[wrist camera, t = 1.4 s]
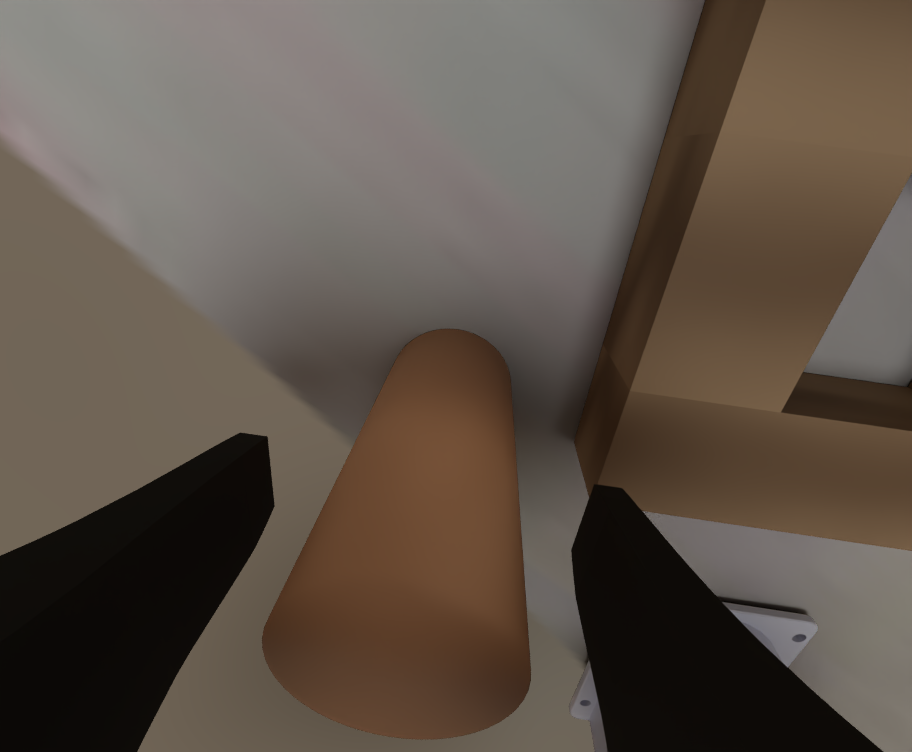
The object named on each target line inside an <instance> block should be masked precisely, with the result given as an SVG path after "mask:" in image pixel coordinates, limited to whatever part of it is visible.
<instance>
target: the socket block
mask: <svg viewBox="0 0 912 752" xmlns="http://www.w3.org/2000/svg"><path fill="white" fill-rule="evenodd" d="M911 173H912V0H706V1H705V4H704V7H703V11H702V14H701V18H700V21H699V24H698V28H697V31H696V34H695V38H694V41H693V44H692V48H691V51H690V54H689V58H688V61H687V64H686V68H685V71H684V75H683V78H682V81H681V85H680V88H679V91H678V95H677V98H676V101H675V105H674V108H673V111H672V115H671V118H670V121H669V125H668V128H667V131H666V135H665V138H664V142H663V145H662V148H661V152H660V155H659V158H658V162H657V165H656V168H655V172H654V175H653V178H652V182H651V185H650V188H649V192H648V195H647V198H646V202H645V205H644V209H643V212H642V215H641V219H640V222H639V225H638V229H637V232H636V235H635V239H634V242H633V245H632V249H631V252H630V255H629V259H628V262H627V266H626V269H625V272H624V276H623V279H622V282H621V286H620V289H619V292H618V296H617V299H616V302H615V306H614V309H613V312H612V316H611V319H610V322H609V326H608V329H607V333H606V336H605V339H604V343H603V346H602V349H601V353H600V356H599V359H598V363H597V366H596V369H595V373H594V376H593V379H592V383H591V386H590V389H589V393H588V396H587V400H586V403H585V406H584V410H583V413H582V416H581V420H580V423H579V426H578V430H577V433H576V436H575V440H574V444H575V448H576V451H577V455H578V458H579V462H580V466H581V469H582V473H583V477H584V480H585V484H586V487H587V491H588V495H589V497H590V495H591V492H592V489H593V486H594V484H598V485H605V486H612V487H619V488H623V489H624V491H625V492H626V493H627V494H628V495H629V496H630V497H631V499H632V500H633V501H634V502H635V503H636V504H637V506H638V507H639V508H640V509H641V510H642V511H647V512H653V513H660V514H667V515H674V516H680V517H687V518H694V519H701V520H707V521H714V522H721V523H727V524H734V525H741V526H748V527H754V528H761V529H768V530H775V531H781V532H788V533H795V534H802V535H808V536H815V537H822V538H828V539H835V540H842V541H849V542H855V543H862V544H869V545H876V546H882V547H889V548H896V549H903V550H909V551H912V382H911V383H910V385H909V386H908V387H902V386H895V385H888V384H881V383H874V382H867V381H860V380H852V379H845V378H838V377H831V376H824V375H817V374H810V373H803V371H804V369H805V367H806V365H807V364H808V362H809V360H810V358H811V356H812V354H813V353H814V351H815V349H816V347H817V345H818V343H819V342H820V340H821V338H822V336H823V334H824V332H825V331H826V329H827V327H828V325H829V323H830V321H831V320H832V318H833V316H834V314H835V312H836V310H837V309H838V307H839V305H840V303H841V301H842V299H843V298H844V296H845V294H846V292H847V290H848V288H849V287H850V285H851V283H852V281H853V279H854V278H855V276H856V274H857V272H858V270H859V268H860V267H861V265H862V263H863V261H864V259H865V257H866V256H867V254H868V252H869V250H870V248H871V246H872V245H873V243H874V241H875V239H876V237H877V235H878V234H879V232H880V230H881V228H882V226H883V224H884V223H885V221H886V219H887V217H888V215H889V213H890V212H891V210H892V208H893V206H894V204H895V202H896V201H897V199H898V197H899V195H900V193H901V192H902V190H903V188H904V186H905V184H906V182H907V181H908V179H909V177H910V175H911Z"/></svg>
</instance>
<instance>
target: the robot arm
mask: <svg viewBox="0 0 912 752" xmlns="http://www.w3.org/2000/svg"><path fill="white" fill-rule="evenodd" d="M273 508H274V497H273V487H272V477H271V467H270V457H269V448H268V437H267V436H260V435H253V434H246V433H239V434H237V435H235V436H233V437H231V438H229V439H227V440H225V441H223V442H222V443H220V444H218V445H216V446H214V447H213V448H211V449H209V450H207V451H205V452H204V453H202V454H200V455H198V456H197V457H195V458H193V459H191V460H190V461H188V462H186V463H184V464H183V465H181V466H179V467H177V468H176V469H174V470H172V471H170V472H168V473H167V474H165V475H163V476H161V477H159V478H157V479H156V480H154V481H152V482H151V483H149V484H147V485H145V486H143V487H142V488H140V489H138V490H136V491H134V492H132V493H130V494H128V495H126V496H124V497H122V498H120V499H118V500H116V501H114V502H113V503H110V504H109V505H107V506H105V507H103V508H101V509H99V510H97V511H95V512H93V513H91V514H89V515H87V516H85V517H84V518H82V519H80V520H78V521H76V522H73V523H71V524H69V525H67V526H65V527H63V528H61V529H59V530H57V531H55V532H52V533H51V534H48V535H46V536H44V537H42V538H40V539H37V540H35V541H33V542H31V543H29V544H26V545H24V546H22V547H19V548H17V549H15V550H13V551H10V552H8V553H6V554H4V555H1V556H0V752H137V751H138V749H139V747H140V745H141V743H142V741H143V739H144V737H145V735H146V733H147V731H148V729H149V727H150V725H151V723H152V721H153V719H154V717H155V715H156V713H157V712H158V710H159V708H160V706H161V704H162V702H163V700H164V698H165V696H166V694H167V692H168V690H169V688H170V686H171V685H172V683H173V681H174V679H175V677H176V675H177V673H178V672H179V670H180V668H181V667H182V665H183V663H184V661H185V660H186V658H187V656H188V655H189V653H190V651H191V650H192V648H193V646H194V645H195V643H196V642H197V640H198V639H199V637H200V635H201V634H202V632H203V630H204V629H205V627H206V626H207V624H208V623H209V621H210V619H211V618H212V616H213V615H214V613H215V611H216V610H217V608H218V607H219V605H220V604H221V602H222V600H223V599H224V597H225V596H226V594H227V593H228V591H229V589H230V588H231V586H232V585H233V583H234V581H235V580H236V578H237V577H238V575H239V573H240V572H241V570H242V568H243V567H244V565H245V564H246V562H247V561H248V559H249V557H250V556H251V554H252V552H253V551H254V549H255V547H256V545H257V543H258V541H259V539H260V537H261V535H262V533H263V531H264V528H265V526H266V524H267V522H268V519H269V517H270V515H271V513H272V511H273ZM571 552H572V564H573V576H574V585H575V594H576V600H577V605H578V610H579V615H580V620H581V625H582V629H583V634H584V639H585V643H586V648H587V652H588V657H589V661H588V663H587V666H586V668H585V670H584V672H583V675H582V677H581V679H580V681H579V684H578V686H577V688H576V691H575V693H574V695H573V697H572V699H571V702H570V704H569V710H570V714H571V715H572V716H573V717H574V718H577V719H584V720H590V726H591V732H592V738H593V744H594V749H595V752H883V751H882V750H881V749H879V748H878V747H877V746H876V745H875V744H874V743H872V742H871V741H870V740H869V739H868V738H866V737H865V736H864V735H863V734H862V733H861V732H859V731H858V730H857V729H856V728H855V727H854V726H852V725H851V724H850V723H849V722H848V721H846V720H845V719H844V718H843V717H842V716H841V715H839V714H838V713H837V712H836V711H835V710H834V709H833V708H832V707H830V706H829V705H828V704H827V703H826V702H825V701H824V700H823V699H821V698H820V697H819V696H818V695H817V694H816V693H815V692H814V691H812V690H811V689H810V688H809V687H808V686H807V685H806V684H805V683H804V682H803V681H802V680H801V679H800V678H798V677H797V676H796V675H795V674H794V673H793V672H792V671H791V670H790V669H789V668H788V667H789V665H790V664H791V663H792V662H793V660H794V659H795V658H796V657H797V656H798V654H799V653H800V652H801V651H802V649H803V648H804V647H805V646H806V644H807V643H808V642H809V641H810V640H811V638H812V637H813V636H814V635H815V633H816V632H817V630H818V626H817V624H816V623H815V621H814V620H813V618H812V617H810V616H808V615H805V614H798V613H792V612H785V611H778V610H772V609H765V608H759V607H752V606H746V605H739V604H732V603H726V602H721V601H720V600H719V599H718V597H717V596H716V595H715V594H714V593H713V592H712V591H711V590H710V589H709V588H708V587H707V586H706V584H705V583H704V582H703V581H702V580H701V579H700V578H699V577H698V576H697V575H696V573H695V572H694V571H693V570H692V569H691V568H690V567H689V566H688V564H687V563H686V562H685V561H684V560H683V559H682V558H681V556H680V555H679V554H678V553H677V552H676V551H675V550H674V548H673V547H672V546H671V545H670V544H669V543H668V541H667V540H666V539H665V538H664V537H663V535H662V534H661V533H660V532H659V531H658V529H657V528H656V527H655V526H654V525H653V524H652V522H651V521H650V520H649V519H648V518H647V516H646V515H645V514H644V513H643V512H642V510H641V509H640V508H639V507H638V506H637V504H636V503H635V502H634V501H633V500H632V499H631V497H630V496H629V495H628V494H627V493H626V492H625V491H624V489H623V488H619V487H612V486H605V485H598V484H594V486H593V489H592V492H591V495H590V497H589V500H588V503H587V506H586V509H585V512H584V515H583V518H582V521H581V523H580V526H579V529H578V532H577V535H576V538H575V541H574V544H573V547H572V550H571Z"/></svg>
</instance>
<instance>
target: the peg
mask: <svg viewBox="0 0 912 752" xmlns="http://www.w3.org/2000/svg"><path fill="white" fill-rule="evenodd" d="M262 644H263V646H262V648H263V652H264V656H265V660H266V662H267V664H268V666H269V668H270V670H271V672H272V673H273V675H274V676H275V678H276V679H277V680H278V681H279V683H280V684H281V685H282V686H283V687H284V688H285V689H286V690H287V691H288V692H289V693H290V694H291V695H292V696H293V697H295V698H296V699H297V700H299V701H300V702H301V703H303V704H304V705H306V706H307V707H309V708H310V709H312V710H314V711H315V712H317V713H319V714H321V715H323V716H325V717H327V718H329V719H331V720H333V721H336V722H338V723H341V724H343V725H346V726H349V727H352V728H354V729H358V730H361V731H365V732H369V733H372V734H377V735H382V736H388V737H396V738H403V739H443V738H451V737H458V736H463V735H467V734H471V733H475V732H478V731H480V730H484V729H486V728H489V727H490V726H493V725H495V724H497V723H499V722H500V721H502V720H503V719H505V718H506V717H508V716H509V715H510V714H512V712H514V711H515V710H516V709H517V708H518V707H519V705H520V704H521V703H522V701H523V700H524V698H525V696H526V694H527V692H528V690H529V685H530V681H531V666H530V651H529V638H528V623H527V608H526V593H525V579H524V564H523V550H522V535H521V521H520V507H519V492H518V478H517V463H516V449H515V434H514V420H513V405H512V391H511V379H510V373H509V370H508V367H507V364H506V362H505V360H504V359H503V357H502V356H501V354H500V353H499V352H498V351H497V350H496V348H495V347H494V346H492V345H491V344H490V343H489V342H488V341H486V340H484V339H483V338H481V337H479V336H477V335H475V334H473V333H470V332H467V331H462V330H457V329H440V330H434V331H430V332H427V333H424V334H422V335H420V336H418V337H416V338H415V339H413V340H412V341H411V342H409V343H408V344H407V345H406V346H405V347H404V348H403V349H402V350H401V352H400V353H399V355H398V357H397V358H396V360H395V362H394V365H393V367H392V369H391V371H390V373H389V375H388V377H387V379H386V381H385V383H384V385H383V387H382V389H381V391H380V393H379V395H378V397H377V399H376V401H375V403H374V405H373V407H372V409H371V411H370V413H369V415H368V417H367V419H366V421H365V423H364V425H363V427H362V429H361V431H360V433H359V435H358V437H357V439H356V442H355V444H354V446H353V448H352V450H351V452H350V454H349V456H348V458H347V460H346V462H345V464H344V466H343V468H342V470H341V472H340V474H339V476H338V478H337V480H336V482H335V484H334V486H333V488H332V490H331V492H330V494H329V496H328V498H327V500H326V502H325V504H324V506H323V508H322V511H321V512H320V515H319V517H318V519H317V521H316V523H315V525H314V527H313V529H312V531H311V533H310V535H309V537H308V539H307V541H306V543H305V545H304V547H303V549H302V551H301V553H300V555H299V557H298V559H297V561H296V563H295V565H294V567H293V569H292V571H291V573H290V575H289V577H288V579H287V582H286V583H285V585H284V588H283V590H282V591H281V593H280V596H279V598H278V600H277V602H276V604H275V606H274V608H273V610H272V612H271V614H270V616H269V618H268V620H267V622H266V625H265V627H264V631H263V636H262Z"/></svg>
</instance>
